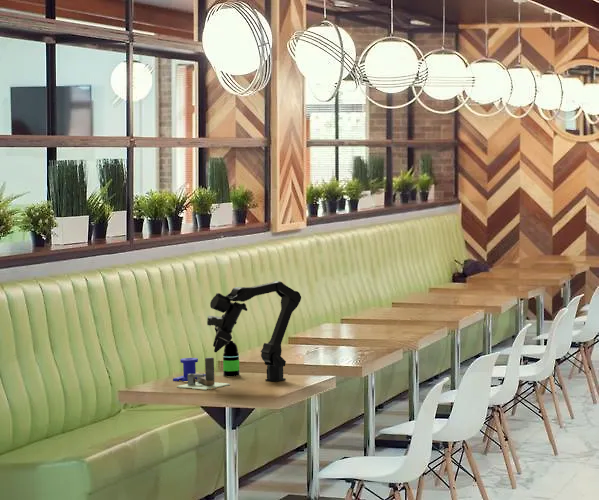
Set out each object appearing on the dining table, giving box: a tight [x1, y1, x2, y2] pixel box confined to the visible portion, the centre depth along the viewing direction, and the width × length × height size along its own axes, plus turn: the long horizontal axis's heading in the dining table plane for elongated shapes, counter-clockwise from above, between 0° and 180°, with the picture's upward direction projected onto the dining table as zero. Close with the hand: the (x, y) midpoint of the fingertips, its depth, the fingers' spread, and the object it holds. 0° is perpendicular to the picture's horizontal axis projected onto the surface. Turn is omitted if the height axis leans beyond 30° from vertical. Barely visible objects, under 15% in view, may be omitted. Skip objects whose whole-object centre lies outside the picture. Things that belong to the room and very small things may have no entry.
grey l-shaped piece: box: [196, 356, 215, 385], centre depth 507 cm, size 14×4×11 cm, turn 23°
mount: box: [172, 357, 206, 382], centre depth 526 cm, size 15×8×9 cm, turn 153°
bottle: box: [222, 340, 241, 377], centre depth 533 cm, size 7×7×15 cm
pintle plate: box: [176, 381, 231, 391], centre depth 505 cm, size 16×15×1 cm
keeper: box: [187, 373, 205, 385], centre depth 506 cm, size 3×6×5 cm, turn 78°
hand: (214, 349), depth 506 cm, fingers open, 9 cm apart
